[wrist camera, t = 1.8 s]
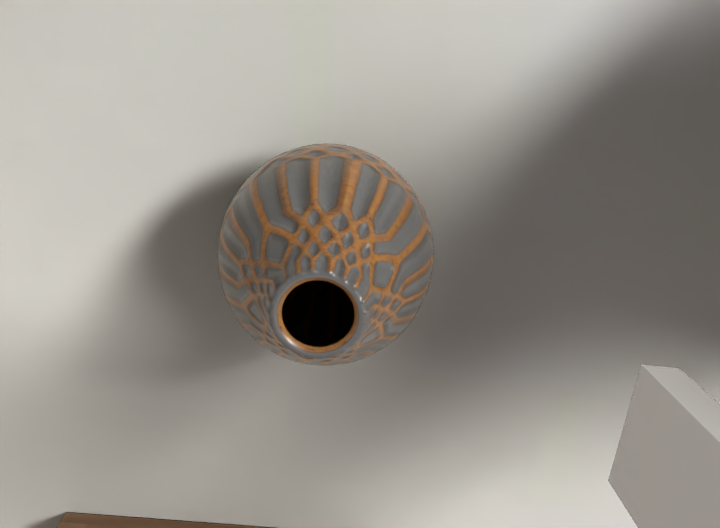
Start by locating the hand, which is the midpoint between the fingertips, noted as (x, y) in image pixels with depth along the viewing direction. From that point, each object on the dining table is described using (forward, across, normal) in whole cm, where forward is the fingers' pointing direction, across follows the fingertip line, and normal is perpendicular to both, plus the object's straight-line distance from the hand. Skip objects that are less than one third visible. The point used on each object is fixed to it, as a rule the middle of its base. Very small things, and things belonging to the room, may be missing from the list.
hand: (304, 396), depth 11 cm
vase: (+12, 0, 0) cm, 12 cm away
